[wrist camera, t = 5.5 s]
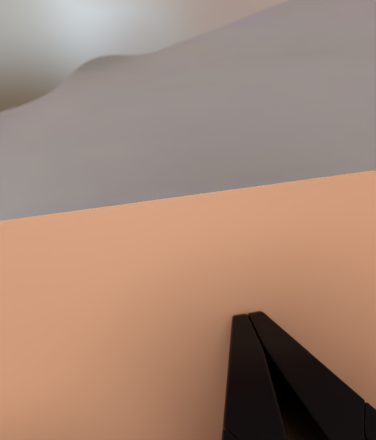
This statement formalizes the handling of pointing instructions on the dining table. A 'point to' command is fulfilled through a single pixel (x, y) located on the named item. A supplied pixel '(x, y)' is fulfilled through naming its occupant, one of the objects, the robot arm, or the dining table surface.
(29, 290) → the lid
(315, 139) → the dining table surface
